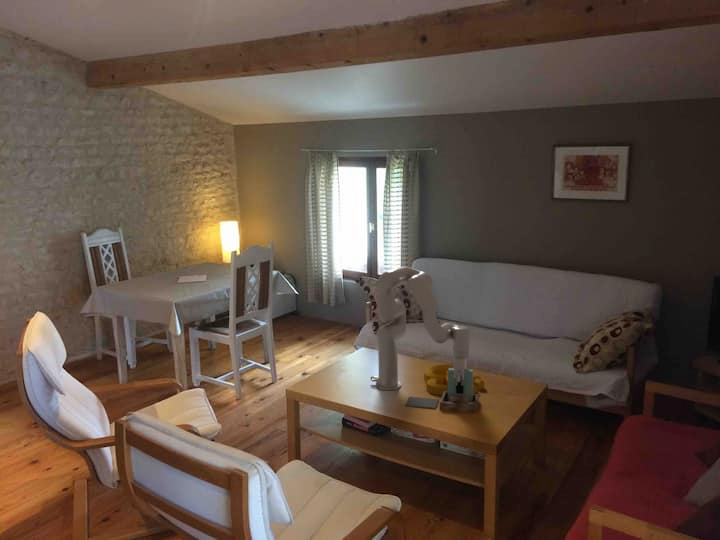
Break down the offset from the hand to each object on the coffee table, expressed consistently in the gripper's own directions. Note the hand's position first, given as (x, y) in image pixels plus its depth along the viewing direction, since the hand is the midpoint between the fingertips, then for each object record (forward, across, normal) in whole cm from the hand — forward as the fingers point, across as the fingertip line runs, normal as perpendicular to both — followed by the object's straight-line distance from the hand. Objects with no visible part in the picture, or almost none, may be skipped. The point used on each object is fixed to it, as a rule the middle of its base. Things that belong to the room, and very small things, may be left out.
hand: (460, 390), depth 281 cm
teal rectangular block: (+6, 0, 0) cm, 6 cm away
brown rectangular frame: (+6, +3, 0) cm, 7 cm away
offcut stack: (+6, +6, +1) cm, 8 cm away
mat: (+6, +5, -17) cm, 19 cm away
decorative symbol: (+6, -22, -6) cm, 24 cm away
